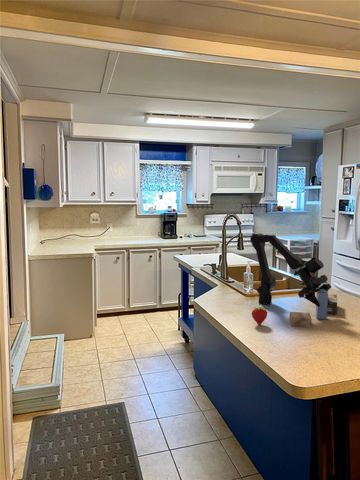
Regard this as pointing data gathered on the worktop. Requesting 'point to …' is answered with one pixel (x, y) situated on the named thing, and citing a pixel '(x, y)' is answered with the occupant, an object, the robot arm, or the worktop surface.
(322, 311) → the blue-grey tall block
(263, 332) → the worktop surface
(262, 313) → the strawberry
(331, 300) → the coffee box
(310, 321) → the walnut base
